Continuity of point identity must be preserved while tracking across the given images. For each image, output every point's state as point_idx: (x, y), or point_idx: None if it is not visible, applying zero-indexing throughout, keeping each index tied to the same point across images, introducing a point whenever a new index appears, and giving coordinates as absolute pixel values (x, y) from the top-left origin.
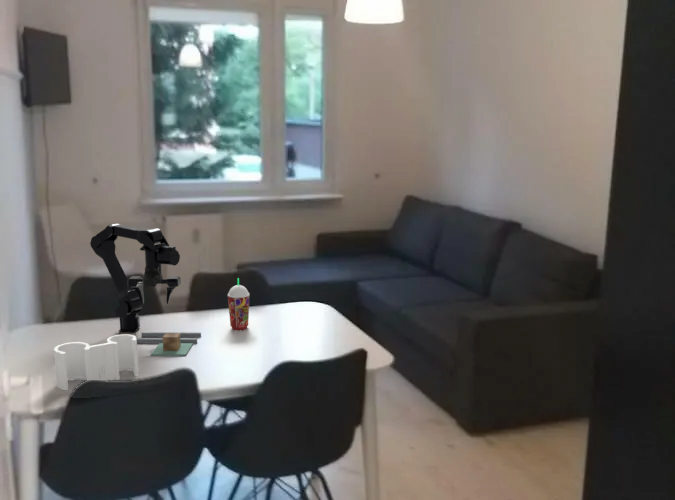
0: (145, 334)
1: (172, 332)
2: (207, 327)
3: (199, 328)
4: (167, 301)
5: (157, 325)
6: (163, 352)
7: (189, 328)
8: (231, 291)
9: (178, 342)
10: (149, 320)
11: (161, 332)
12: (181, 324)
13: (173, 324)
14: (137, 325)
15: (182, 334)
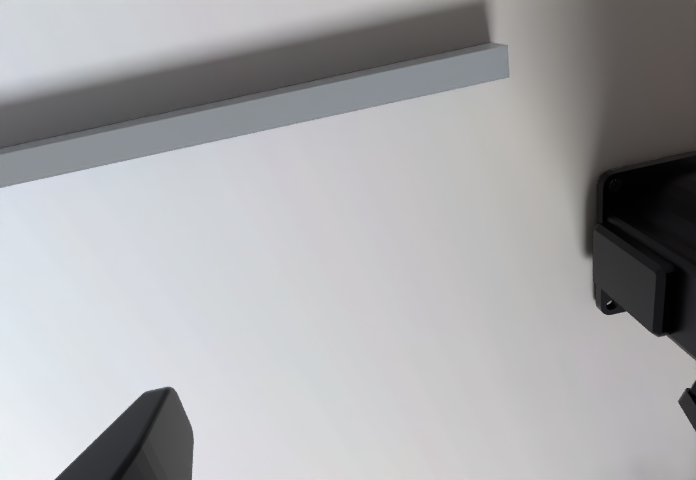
0: (456, 53)
1: (163, 145)
2: (14, 443)
3: (66, 406)
4: (123, 428)
5: (465, 385)
6: None
7: (154, 385)
8: None
9: None
10: (569, 465)
11: (288, 117)
12: (281, 451)
13: (346, 436)
14: (617, 237)
15: (40, 143)
